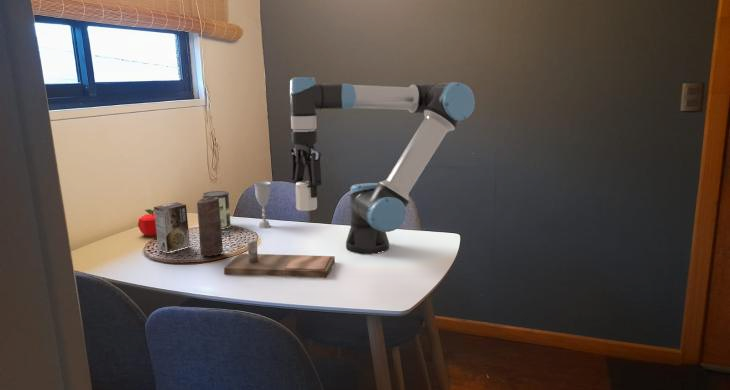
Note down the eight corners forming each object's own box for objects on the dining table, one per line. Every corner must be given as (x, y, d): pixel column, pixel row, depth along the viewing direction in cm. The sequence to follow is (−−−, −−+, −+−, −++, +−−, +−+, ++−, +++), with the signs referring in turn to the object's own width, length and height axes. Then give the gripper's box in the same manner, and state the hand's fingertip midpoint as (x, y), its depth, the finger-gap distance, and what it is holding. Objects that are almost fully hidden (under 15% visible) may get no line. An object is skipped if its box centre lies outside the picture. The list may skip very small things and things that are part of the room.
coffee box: (180, 244, 192) (177, 201, 189) (190, 248, 188) (187, 204, 185) (157, 251, 185) (153, 206, 182) (167, 254, 181) (163, 209, 178)
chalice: (255, 225, 217) (252, 182, 214) (271, 223, 219) (269, 181, 216) (257, 229, 211) (254, 185, 207) (274, 228, 213) (271, 184, 209)
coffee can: (218, 222, 222) (216, 189, 219) (236, 225, 217) (234, 192, 214) (199, 228, 214) (196, 194, 211) (217, 231, 208) (214, 197, 205)
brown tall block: (216, 259, 176) (212, 201, 171) (196, 258, 177) (191, 200, 173) (227, 252, 183) (223, 196, 179) (207, 251, 184) (203, 195, 180)
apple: (174, 231, 210) (172, 206, 208) (157, 238, 200) (155, 213, 198) (151, 229, 212) (148, 205, 210) (133, 237, 202) (131, 211, 200)
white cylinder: (320, 208, 161) (319, 182, 160) (303, 211, 158) (302, 184, 156) (309, 205, 166) (308, 179, 164) (293, 208, 162) (292, 181, 161)
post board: (334, 262, 172) (334, 237, 170) (326, 277, 159) (326, 250, 157) (240, 259, 176) (238, 235, 174) (224, 274, 162) (222, 248, 160)
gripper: (332, 131, 152) (334, 209, 157) (298, 127, 166) (300, 198, 171) (310, 133, 147) (313, 213, 152) (277, 128, 162) (280, 202, 167)
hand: (306, 205), depth 162 cm, fingers closed on white cylinder, 6 cm apart
